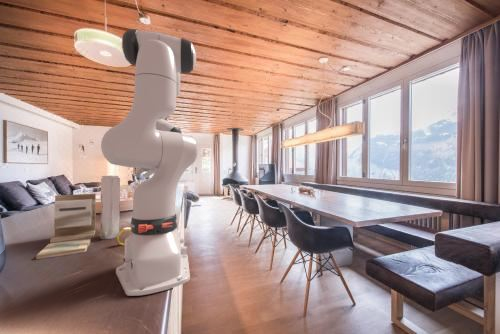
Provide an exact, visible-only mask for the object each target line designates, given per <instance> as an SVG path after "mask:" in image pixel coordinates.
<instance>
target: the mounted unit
mask: <svg viewBox="0 0 500 334" xmlns="http://www.w3.org/2000/svg"><path fill="white" fill-rule="evenodd" d="M96 197H97V195H96V193H82V194H81V193H80V194H79V193H78V194H60V195H59V194H58V195H57V194H56V195H54V211H53V213H54V216H53V217H54V218H53V220H54V221H53V222H54V223H53V225H54V228H53V229H54V236H53V237H51V239H50V240H49V241H50V242H49V244H50V243H58V242H65V241H73V240H81V239H89V238H91V239H92V238H94V236H95V234H96V216H97V215H96V211H97V210H96V209H97V208H96V207H97V206H96V204H97V203H96V201H97V200H96Z"/></svg>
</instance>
